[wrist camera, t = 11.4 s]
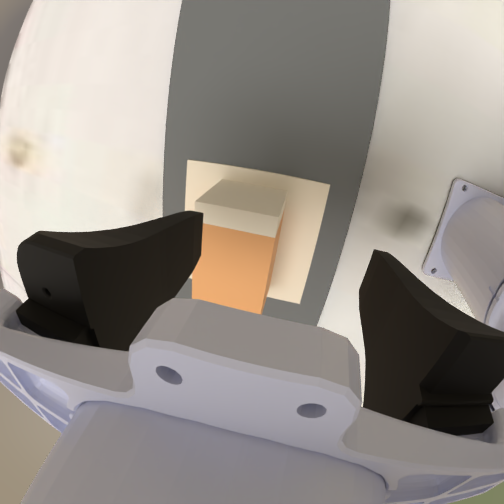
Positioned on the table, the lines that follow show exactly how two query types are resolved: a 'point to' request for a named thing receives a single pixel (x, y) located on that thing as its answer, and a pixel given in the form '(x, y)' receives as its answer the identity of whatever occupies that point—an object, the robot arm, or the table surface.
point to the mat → (278, 107)
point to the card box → (238, 244)
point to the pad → (293, 224)
